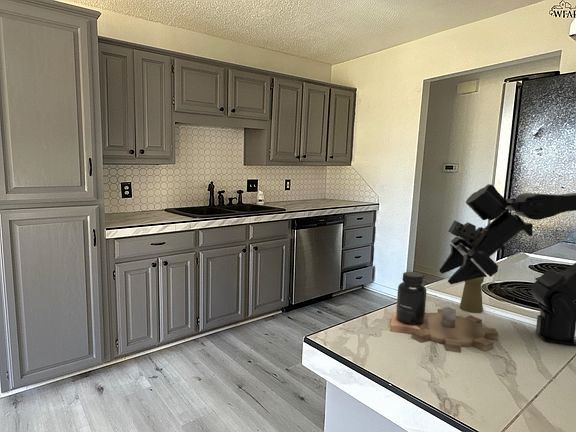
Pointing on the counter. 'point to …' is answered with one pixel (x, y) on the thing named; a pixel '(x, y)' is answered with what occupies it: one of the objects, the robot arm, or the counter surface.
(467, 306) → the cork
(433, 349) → the counter surface
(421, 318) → the supplement bottle
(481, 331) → the sprocket plate
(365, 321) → the counter surface
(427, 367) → the counter surface
